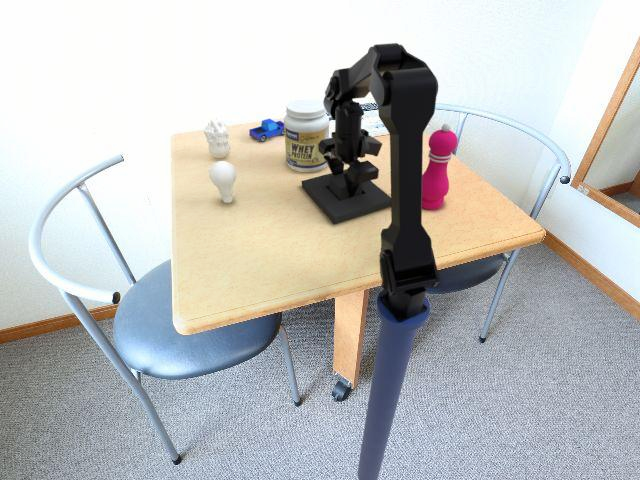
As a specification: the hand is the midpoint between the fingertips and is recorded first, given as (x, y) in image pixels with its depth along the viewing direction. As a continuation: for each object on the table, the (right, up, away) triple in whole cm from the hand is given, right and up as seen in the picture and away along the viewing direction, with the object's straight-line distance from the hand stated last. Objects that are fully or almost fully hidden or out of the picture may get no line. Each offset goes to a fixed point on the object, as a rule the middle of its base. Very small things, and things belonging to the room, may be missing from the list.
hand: (345, 189), depth 91 cm
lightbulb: (-29, -3, 0) cm, 29 cm away
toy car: (-23, +22, +30) cm, 43 cm away
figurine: (-36, +12, +19) cm, 42 cm away
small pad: (0, -1, +1) cm, 1 cm away
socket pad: (0, -2, +1) cm, 2 cm away
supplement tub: (-10, +9, +15) cm, 20 cm away
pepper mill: (+21, -3, -1) cm, 21 cm away
